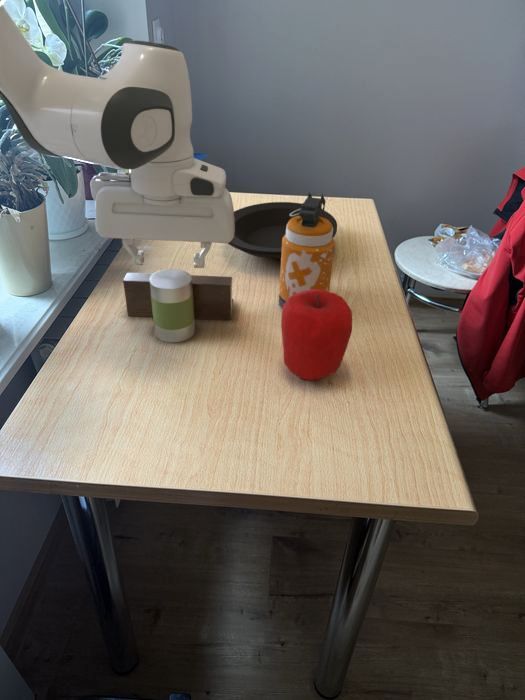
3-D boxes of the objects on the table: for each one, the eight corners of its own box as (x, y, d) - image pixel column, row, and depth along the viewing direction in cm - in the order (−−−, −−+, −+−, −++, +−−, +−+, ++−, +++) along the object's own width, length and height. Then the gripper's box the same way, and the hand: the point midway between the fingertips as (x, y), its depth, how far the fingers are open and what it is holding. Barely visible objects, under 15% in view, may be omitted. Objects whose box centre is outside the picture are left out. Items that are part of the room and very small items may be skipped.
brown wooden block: (127, 316, 92) (122, 280, 88) (134, 300, 97) (130, 265, 93) (230, 320, 92) (230, 285, 88) (233, 304, 97) (233, 269, 93)
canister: (272, 312, 95) (278, 204, 83) (288, 284, 103) (295, 182, 92) (321, 321, 93) (334, 211, 81) (333, 292, 101) (346, 189, 90)
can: (162, 346, 85) (157, 292, 79) (149, 326, 90) (143, 273, 84) (201, 336, 88) (198, 283, 82) (186, 317, 93) (182, 265, 87)
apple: (330, 401, 76) (341, 321, 68) (266, 379, 79) (269, 301, 71) (353, 362, 84) (366, 286, 76) (294, 344, 87) (300, 269, 79)
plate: (295, 289, 102) (297, 263, 98) (195, 257, 112) (194, 232, 108) (353, 240, 121) (357, 216, 118) (264, 216, 131) (265, 194, 128)
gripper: (81, 178, 71) (96, 271, 79) (233, 185, 71) (232, 277, 79) (94, 164, 76) (107, 253, 84) (236, 171, 76) (235, 258, 84)
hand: (169, 264), depth 82 cm, fingers open, 8 cm apart
